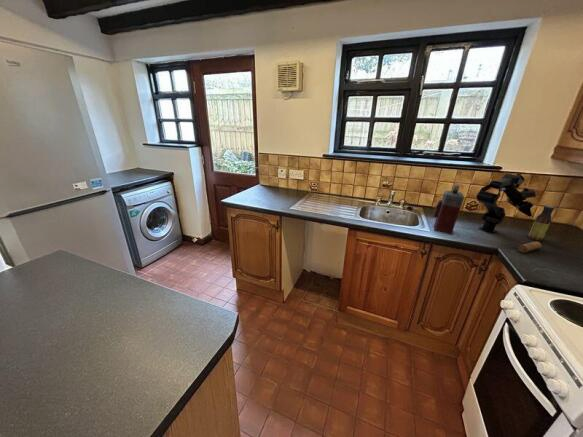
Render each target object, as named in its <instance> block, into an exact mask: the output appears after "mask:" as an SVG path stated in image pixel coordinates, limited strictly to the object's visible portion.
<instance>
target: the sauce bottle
mask: <svg viewBox="0 0 583 437" xmlns="http://www.w3.org/2000/svg"><path fill="white" fill-rule="evenodd" d="M554 210H555V206H552V205H547V204H546V205H543V209H542V210H541V213H540V214H538V215H536V217H535V220H534V222H533V224H532V226H531V228H530V231H529V233H528V236H527V237H528V239H530V240H533V241H536V242H540V241H543V239H544V238H545V237H546V233H547V232H548V229H549V227H550V225H551V223H552V214H553V212H554Z"/></svg>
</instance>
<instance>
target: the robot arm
mask: <svg viewBox="0 0 583 437" xmlns="http://www.w3.org/2000/svg"><path fill="white" fill-rule="evenodd" d="M525 180H526V179H525V177H524V176H523V175H522V174H521V173H516V174H512V173H505V174H503V175H502V176H501V177H500V178H498V179H493V180H491V181H490V182H489V183H488V184H486V185H484V186H483V187H481V188H480V190H479V191H478V193H477V194H476V196H475V198H476V201H477V202H479V203H481V204H483V205H484V206H485V208H486V210H485V212H484V214H483V215H482V217H481V220H483V221H484V222H483V225H482V226H481V227H479V228H478V229H479V230H482V231H484V232H486V233H489V234H492V233H497V230H496V227H497V225H500V224H502V222H503V220H504V219H505V217H506V212H505V211H506V210H505V208H504V207H501V206H498V204H497V202H498V200H499V199H500V197H501V192H503V193H504V195H505V197H506V201H507V203H509V204H510V205H511V206H513V207H514V208H516V209H517V211H519V212H520V213H522V214H524V215H526V216H527V217H529V218H530V217H533V214H532V211H531V209H532V208H533V207H534V204H533V203H532V202H531V201H529V200H527V199H529V198H535V197H537V194H536V190H534V189H530V188H528V187H523V188H522V190H521V191H520V190H518V189H519V187H520V186H521V185H523V183H524V182H525ZM490 189H496V190H498V192H497V193H494V192H490V191H488V190H490Z"/></svg>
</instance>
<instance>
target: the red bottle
mask: <svg viewBox="0 0 583 437" xmlns="http://www.w3.org/2000/svg"><path fill="white" fill-rule="evenodd" d="M459 190H460V185H459V184H454V185H453V187H452V190H444V192H443V195H442V198H441V199H438V201H437V203H436V204H435V208H434V211H433V218H435V221H434V224H433V230H434V232H437V233H443V234H447V235H452V234H453V231H454V229H455V225H456V223H457V220H458V217H459V214H460V212H461V211H460V210H461V208H462V205H463V202H464V199H465V197H464V194H463V193H462V192H460V191H459Z"/></svg>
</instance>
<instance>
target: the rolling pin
mask: <svg viewBox="0 0 583 437" xmlns="http://www.w3.org/2000/svg"><path fill="white" fill-rule="evenodd" d="M541 248H542V244H541V243H540V241H532V242H528V243H525V244H519V245H518V247H517V251H519V252H520V253H523V254H524V253H525V254H526V253H528V252H533V251H536V250H540V249H541Z"/></svg>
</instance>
